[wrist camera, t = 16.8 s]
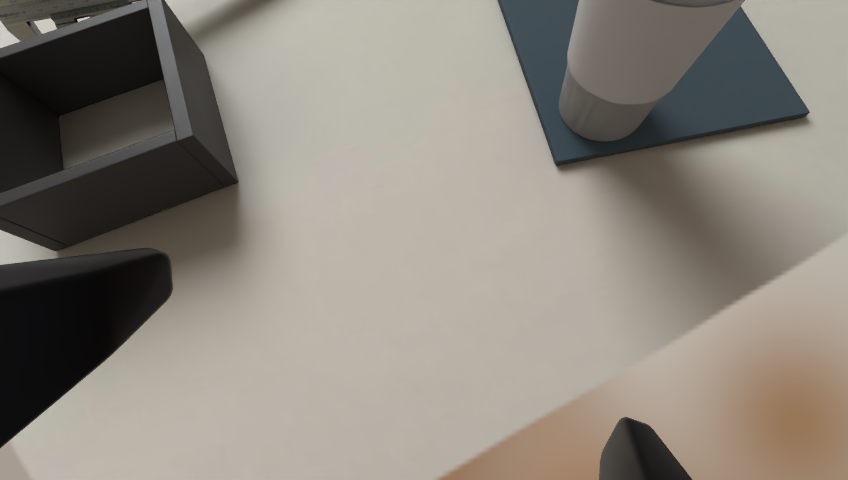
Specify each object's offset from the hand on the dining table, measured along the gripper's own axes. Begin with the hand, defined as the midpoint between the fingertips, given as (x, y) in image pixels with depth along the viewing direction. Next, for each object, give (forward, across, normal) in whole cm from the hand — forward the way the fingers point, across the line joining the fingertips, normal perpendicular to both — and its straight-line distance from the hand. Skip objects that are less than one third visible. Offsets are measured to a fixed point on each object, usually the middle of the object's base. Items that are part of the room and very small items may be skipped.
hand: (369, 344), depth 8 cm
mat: (+26, -5, -8) cm, 27 cm away
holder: (+14, +21, +4) cm, 26 cm away
